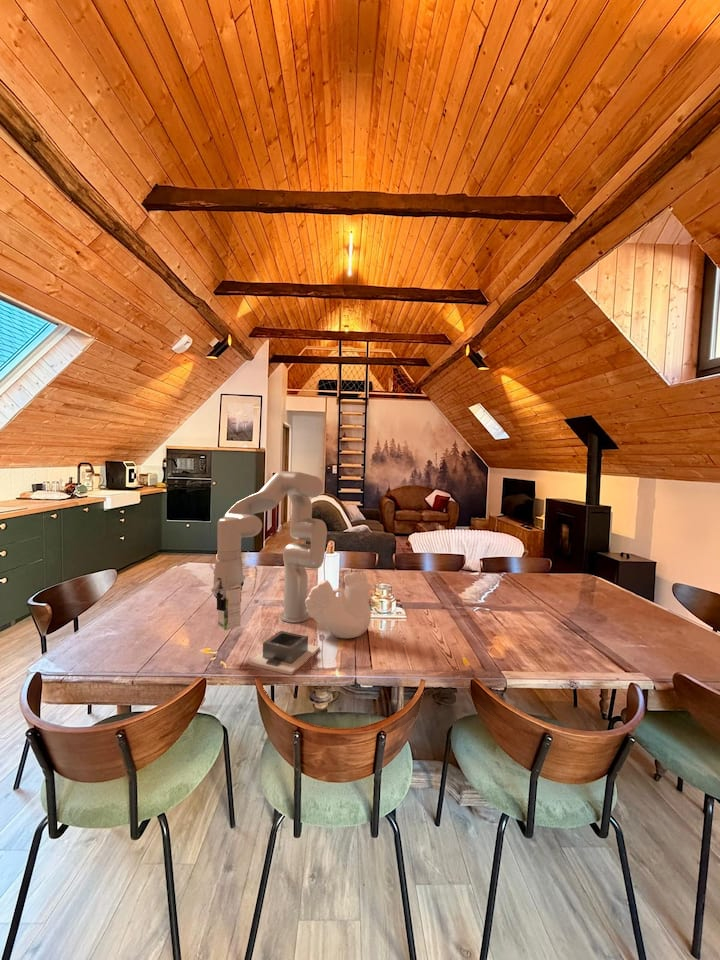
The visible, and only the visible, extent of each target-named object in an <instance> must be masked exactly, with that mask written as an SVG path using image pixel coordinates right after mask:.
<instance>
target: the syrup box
mask: <svg viewBox="0 0 720 960" xmlns="http://www.w3.org/2000/svg"><path fill="white" fill-rule="evenodd" d="M221 589H223V588H221ZM222 593H223V591H221V592H220V594H221V595H222ZM224 599H226V610H225V611H220V610H217V626H218V627H220V628H221V629H223V630H224V631H228V630H232V629H235V628H238V627H241V609H242V608H241V603H242V591H241V585H239V584H236V585H233V586H231V588H230V590H228V591H226V595H225V598H224Z"/></svg>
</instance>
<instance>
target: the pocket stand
mask: <svg viewBox="0 0 720 960" xmlns="http://www.w3.org/2000/svg"><path fill="white" fill-rule="evenodd" d="M320 648H321V646H318V645H312V644H309V636H307V635H303V634H297V633H294V632H288V631H284V630H283V631H282V630H280V631H278V632H277V633H275V634H274V635H272V636H271V637H269V638H267V639H266V640H265V641H262V651H261V652H259V653H258V654H257V655H256V656H254V657H252V658H250V660H248V662H247V663H248V664H249V666H253V667H258V668H260V669H261V668H262V669H265V670H269V671H273V672H276V673H281V674H285V673H286V674H285V675H289V674H290V676H292V675H294V673H295V672H296V671H297V670H296V669H298V668H299V667H300V666H301V665H302V664H303V663H304V662H305V663H307V662H308V661H309V660H310V659H311V658H312V657H314V655H315V654H317V653H318V652H319V651H320V650H319V649H320ZM318 650H319V651H318ZM317 651H318V652H317ZM316 652H317V653H316ZM311 656H312V657H311ZM310 657H311V658H310ZM309 658H310V659H309ZM308 659H309V660H308ZM307 660H308V661H307ZM305 663H304V664H305ZM248 664H247V665H248ZM304 664H303V665H304ZM303 665H302V666H303ZM302 666H301V667H302ZM301 667H300V668H301ZM300 668H299V669H300ZM299 669H298V670H299ZM295 670H296V671H295ZM294 671H295V672H294ZM293 672H294V673H293Z"/></svg>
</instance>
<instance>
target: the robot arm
mask: <svg viewBox="0 0 720 960" xmlns="http://www.w3.org/2000/svg"><path fill="white" fill-rule="evenodd" d="M323 489H324V484H323V481H322V479H321V478H320V477H319V476H316V475H312V474H308V473H304V472H301V471H285V470H284V471H283V470H281V471H277V472H276V473H275V474H273V475H272V476H271V478H270V479H269V480H268V481H267V482H266V483H265V484H264V485H263V487H261V488H260V490H258V492H256V493H252V494H251V495H249V496H247V497H245V498H243V499H241V500H239V501H237V502H236V503H235V504H233V505H232V506H231V507H230V509H228V510H227V512H226V513H225V514H224V515H223V517H222V518H219V519H218V521H217V560H216V561H215V565H214V572H213V573H214V574H213V587H212V588H211V593H212V594H213V596H214V597H215V599H216V611H218V610H220V611H225V610H226V599H224V598H225V595H226V591H228V590H230V588H231V586H233V585H236V584H239V585H241V592H242V591H243V586H244V583H245V580H246V576H245V575H244V572H243V571H244V570H243V569H244V568H243V562H242V538H250V537H251V538H252V537H255V536H257V535H259V534H260V532H261V530H262V528H263V522H262V519H260V517H258V516H257V515H254V514H259V513H265V512H267V511H271V510H273V509H275V508H276V507H277V506H278V505H279V504H280V502H281V501H282V500H283V499H284V498H285V496H288V497H289V499H290V502H291V517H290V522H289V523H290V524H289V535H290V537H291V538H292V539H294V540H299V541H305V542H310V544H309V543H300V542H290V543H288V544H287V545H285V546H284V548H283V551H282V559H283V564H284V565H283V566H284V590H283V591H284V594H283V611H282V612H281V613H280V614H279V619H280V620H281V621H282V622H285V623H286V622H287V623H295V624H296V623H302V622H306V621H308V620H309V619H311V617H310V616H309V614H308V611H307V608H306V603H305V600H306V598H307V597H308V581H309V580H308V572H307V569H310V570H311V569H312V570H318V569H320V567H322V566H323V563H324V560H325V553H326V544H327V536H328V528H327V525H326V522H324V521H323V519H319V518H313V517H312V516H313V504H312V500H311V499H310V498H317V497H319V496H320V495H321V494H322V492H323ZM221 588H223V589H221ZM221 591H223V593H222V595H221V594H220V592H221Z"/></svg>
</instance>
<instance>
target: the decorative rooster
mask: <svg viewBox="0 0 720 960" xmlns="http://www.w3.org/2000/svg"><path fill="white" fill-rule="evenodd" d="M343 581H344V584H345V587H344V589H342V588H340V587H339V588H336V589H333V587H332V584H331V583H330V582H329V580H327V579H324V580H322V581H319V582H318V584H317V585H315V586H313V587H312V588H311V589H310V592H309V593H308V594H307V598H306V600H305V603H306V608H307V612H308V614H309V616H310V619H311V618H312V619H314V621H315V622H316V623H318V624H324V626H325V627H326V628H327V629H328V631H330V632H331V633H332V635H334V637H336V638H339V639H352V638H357V637H360V636H361V635H363V634H364V633H365V632H366V631H367V629H368V628H369V626H370V623H371V618H372V616H371V614H372V611H371V607H370V604H369V602H370V590H371V588H372V587H373V585H372V584H371V583H368V582H367V574H366V573H364V572H363V573H362V572H358V571H352V572H350V573H345V574H344V576H343ZM337 593H340V594H341V596H337Z"/></svg>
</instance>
